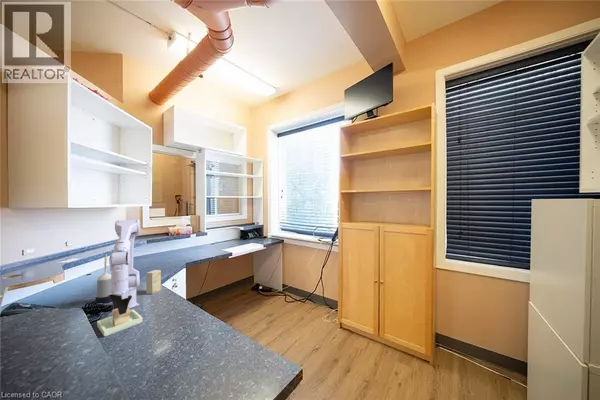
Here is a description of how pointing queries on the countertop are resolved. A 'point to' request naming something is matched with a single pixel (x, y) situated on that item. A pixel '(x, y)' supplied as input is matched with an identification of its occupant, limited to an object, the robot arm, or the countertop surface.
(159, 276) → the light wooden block
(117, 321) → the block
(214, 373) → the countertop surface
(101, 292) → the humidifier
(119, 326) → the tray
